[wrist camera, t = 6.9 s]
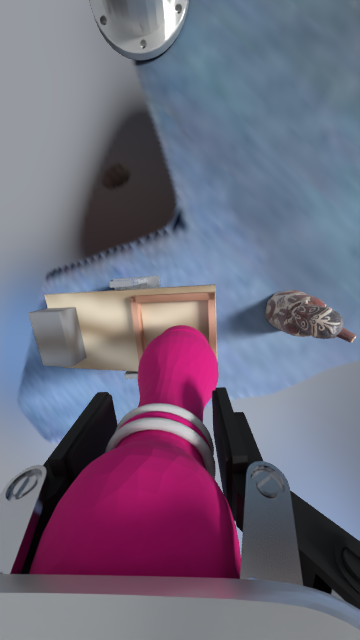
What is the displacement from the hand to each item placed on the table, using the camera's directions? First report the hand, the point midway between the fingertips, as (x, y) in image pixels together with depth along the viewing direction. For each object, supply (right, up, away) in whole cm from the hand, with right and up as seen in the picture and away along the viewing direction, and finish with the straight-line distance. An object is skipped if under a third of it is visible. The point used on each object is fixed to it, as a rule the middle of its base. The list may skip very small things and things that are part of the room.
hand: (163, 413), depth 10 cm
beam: (-6, +4, +17) cm, 19 cm away
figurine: (+20, +7, +22) cm, 31 cm away
